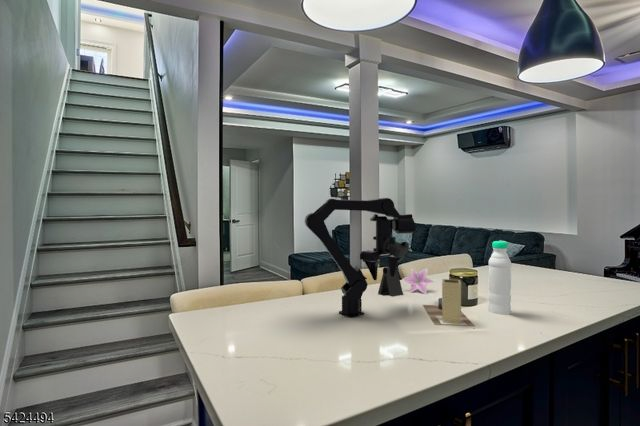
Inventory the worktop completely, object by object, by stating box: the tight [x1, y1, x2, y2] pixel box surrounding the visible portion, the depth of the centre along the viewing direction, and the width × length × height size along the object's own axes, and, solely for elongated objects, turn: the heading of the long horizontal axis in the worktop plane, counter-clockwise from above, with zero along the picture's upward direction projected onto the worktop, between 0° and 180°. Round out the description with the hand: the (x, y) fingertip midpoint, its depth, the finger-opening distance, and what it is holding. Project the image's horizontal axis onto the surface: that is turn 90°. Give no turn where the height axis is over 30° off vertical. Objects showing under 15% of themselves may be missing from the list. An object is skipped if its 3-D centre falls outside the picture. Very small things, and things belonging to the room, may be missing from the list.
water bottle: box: [487, 240, 512, 315], centre depth 123 cm, size 7×7×25 cm
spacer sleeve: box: [441, 278, 462, 324], centre depth 114 cm, size 5×5×12 cm
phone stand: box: [377, 266, 404, 298], centre depth 149 cm, size 9×6×12 cm, turn 32°
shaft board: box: [422, 297, 476, 330], centre depth 120 cm, size 22×12×4 cm, turn 174°
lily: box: [401, 267, 434, 295], centre depth 156 cm, size 12×12×10 cm
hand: (384, 278), depth 125 cm, fingers open, 9 cm apart
